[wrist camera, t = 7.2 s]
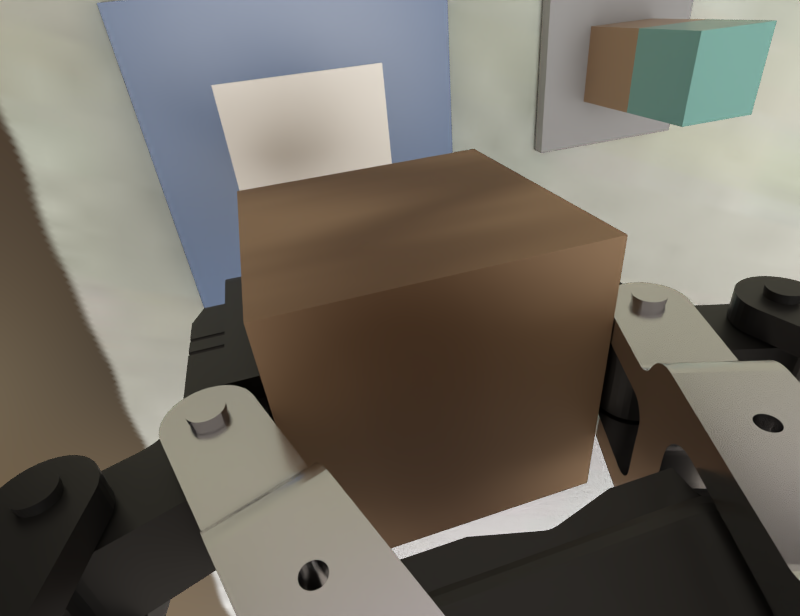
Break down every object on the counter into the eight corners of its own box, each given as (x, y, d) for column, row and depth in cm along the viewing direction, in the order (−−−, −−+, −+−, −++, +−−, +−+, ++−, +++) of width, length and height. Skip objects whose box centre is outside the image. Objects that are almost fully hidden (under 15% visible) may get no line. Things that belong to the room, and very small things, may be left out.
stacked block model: (690, -41, 21) (846, -58, 16) (660, 127, 25) (778, 160, 20) (544, -26, 20) (660, -39, 15) (534, 150, 24) (624, 190, 18)
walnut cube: (473, 148, 11) (627, 234, 7) (476, 337, 13) (587, 482, 9) (236, 191, 10) (243, 322, 6) (290, 385, 12) (321, 571, 8)
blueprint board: (438, -30, 19) (447, -32, 18) (450, 253, 25) (456, 261, 25) (101, 3, 17) (95, 2, 16) (207, 305, 23) (206, 315, 22)
